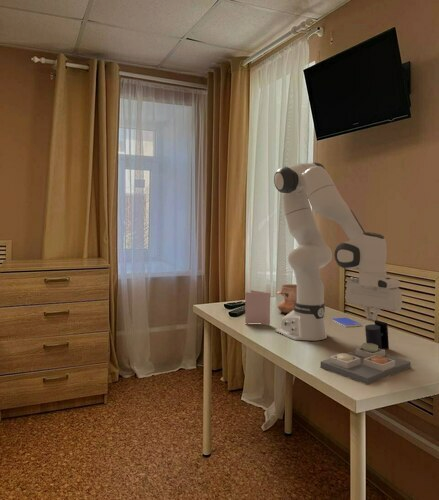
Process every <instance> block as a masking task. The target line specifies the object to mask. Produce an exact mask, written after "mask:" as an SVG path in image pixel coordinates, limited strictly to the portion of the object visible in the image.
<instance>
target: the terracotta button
mask: <svg viewBox="0 0 439 500" xmlns="http://www.w3.org/2000/svg"><path fill="white" fill-rule="evenodd" d="M371 361H373V362H376V363H380V364H384V363H387V362H388V360H387V359H386V358H384V357H379V356H374V357H371Z"/></svg>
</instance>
